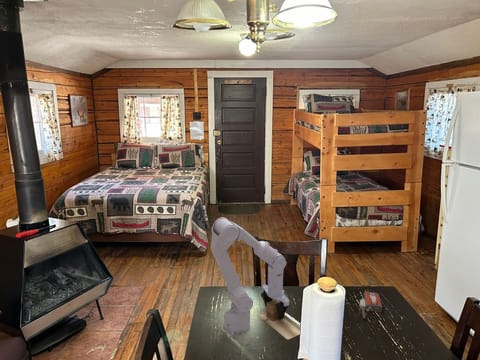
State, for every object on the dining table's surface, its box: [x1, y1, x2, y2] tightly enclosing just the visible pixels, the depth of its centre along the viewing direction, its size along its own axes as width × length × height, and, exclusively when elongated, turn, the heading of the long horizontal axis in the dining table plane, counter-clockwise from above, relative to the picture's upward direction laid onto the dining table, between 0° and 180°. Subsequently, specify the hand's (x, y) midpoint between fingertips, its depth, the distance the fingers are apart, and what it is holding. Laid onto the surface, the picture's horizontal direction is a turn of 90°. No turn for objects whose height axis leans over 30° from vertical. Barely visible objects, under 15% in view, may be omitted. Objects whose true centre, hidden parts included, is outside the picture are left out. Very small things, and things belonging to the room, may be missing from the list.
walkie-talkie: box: [359, 291, 383, 320], centre depth 148 cm, size 9×4×20 cm
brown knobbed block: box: [265, 299, 280, 321], centre depth 139 cm, size 8×4×6 cm, turn 123°
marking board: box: [257, 311, 302, 341], centre depth 136 cm, size 9×18×3 cm, turn 33°
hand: (274, 314), depth 139 cm, fingers open, 7 cm apart
